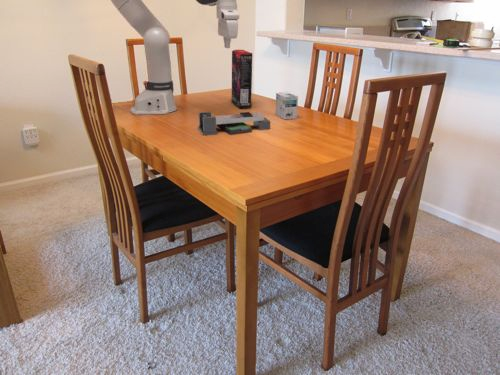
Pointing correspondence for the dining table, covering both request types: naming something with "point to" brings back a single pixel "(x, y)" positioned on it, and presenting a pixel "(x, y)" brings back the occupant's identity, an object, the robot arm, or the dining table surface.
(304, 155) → the dining table surface
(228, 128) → the disk drive
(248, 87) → the graphics card box
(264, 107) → the dining table surface
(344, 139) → the dining table surface
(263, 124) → the strap bracket
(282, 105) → the light bulb box
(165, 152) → the dining table surface
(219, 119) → the bar
